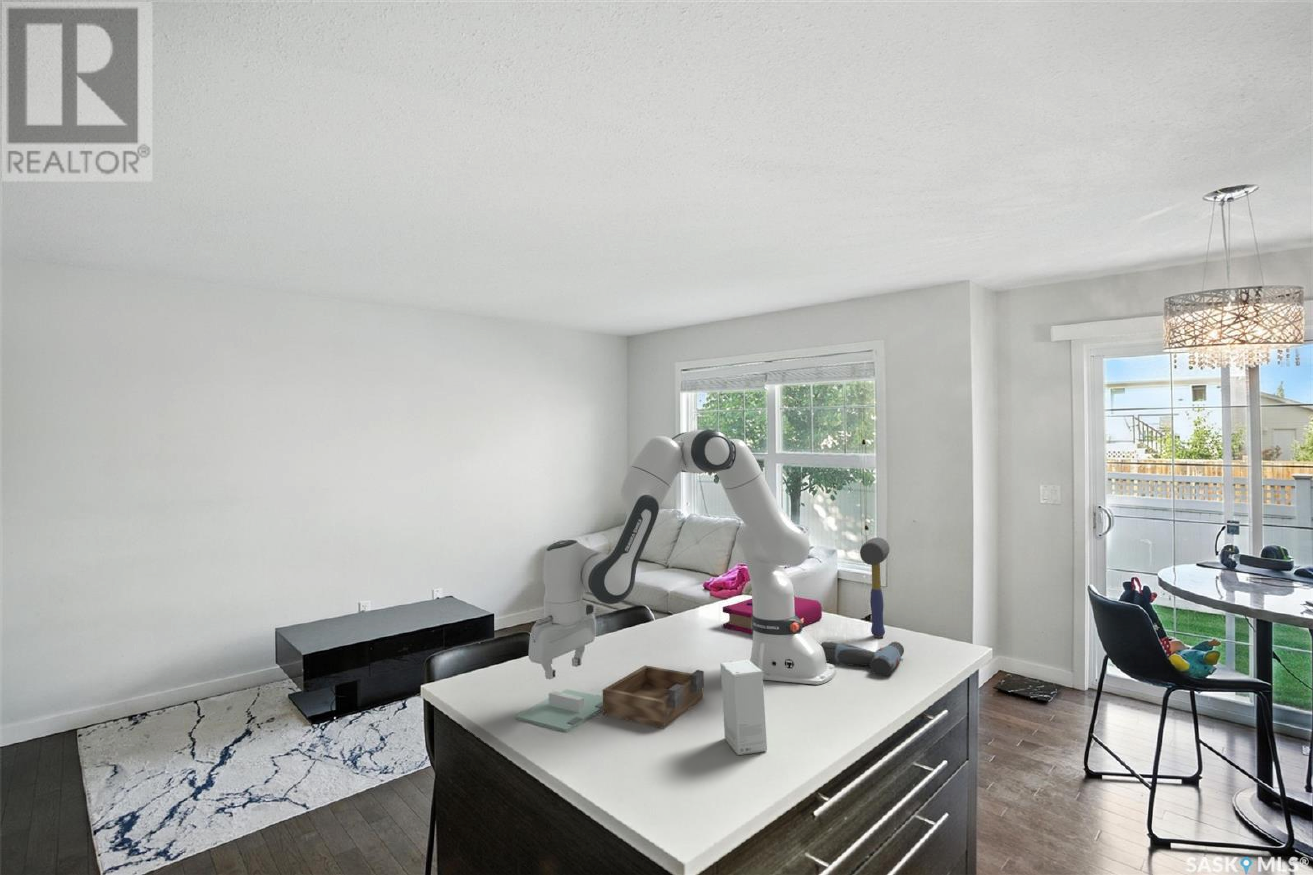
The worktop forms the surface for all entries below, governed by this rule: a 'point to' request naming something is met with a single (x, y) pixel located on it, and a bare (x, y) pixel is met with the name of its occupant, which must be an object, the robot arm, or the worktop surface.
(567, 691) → the green lid with handle
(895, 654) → the power drill
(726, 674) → the skincare box
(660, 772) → the worktop surface
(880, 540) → the rubber mallet
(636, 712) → the wooden crate tray
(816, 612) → the book
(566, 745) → the worktop surface
